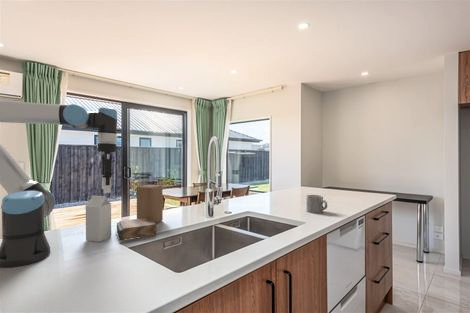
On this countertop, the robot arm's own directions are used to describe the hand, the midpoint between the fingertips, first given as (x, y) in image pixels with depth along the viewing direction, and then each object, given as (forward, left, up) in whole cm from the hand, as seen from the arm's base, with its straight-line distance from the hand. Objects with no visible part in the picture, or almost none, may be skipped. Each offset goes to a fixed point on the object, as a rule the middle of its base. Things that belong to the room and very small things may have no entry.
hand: (105, 190), depth 115 cm
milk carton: (-3, -1, -21) cm, 21 cm away
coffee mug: (+119, -13, -21) cm, 122 cm away
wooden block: (+22, +15, -21) cm, 34 cm away
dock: (+13, -1, -21) cm, 25 cm away
